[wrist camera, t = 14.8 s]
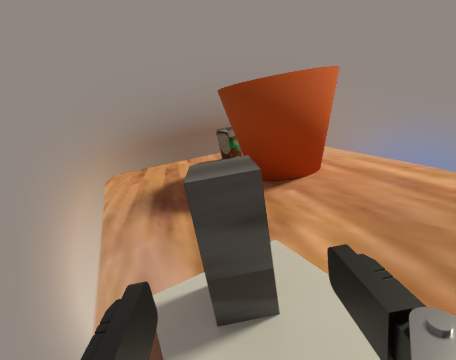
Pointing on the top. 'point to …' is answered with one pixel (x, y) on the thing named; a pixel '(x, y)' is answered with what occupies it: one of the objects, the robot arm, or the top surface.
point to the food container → (228, 143)
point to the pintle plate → (263, 320)
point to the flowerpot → (283, 120)
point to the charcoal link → (233, 238)
